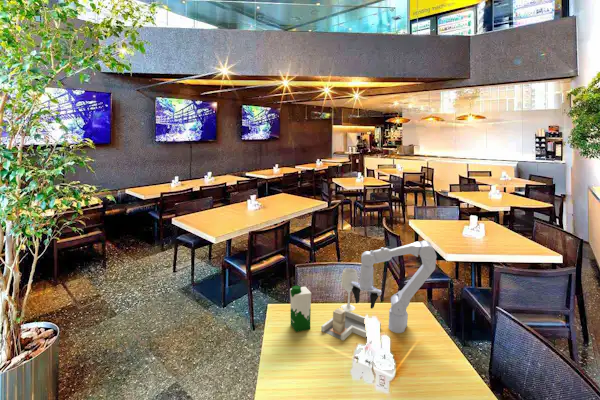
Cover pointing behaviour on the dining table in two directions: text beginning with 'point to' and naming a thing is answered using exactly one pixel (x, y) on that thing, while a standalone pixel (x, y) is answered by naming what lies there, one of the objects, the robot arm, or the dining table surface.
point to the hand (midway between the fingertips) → (364, 305)
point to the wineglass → (348, 285)
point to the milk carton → (300, 308)
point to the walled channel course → (347, 326)
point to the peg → (338, 320)
